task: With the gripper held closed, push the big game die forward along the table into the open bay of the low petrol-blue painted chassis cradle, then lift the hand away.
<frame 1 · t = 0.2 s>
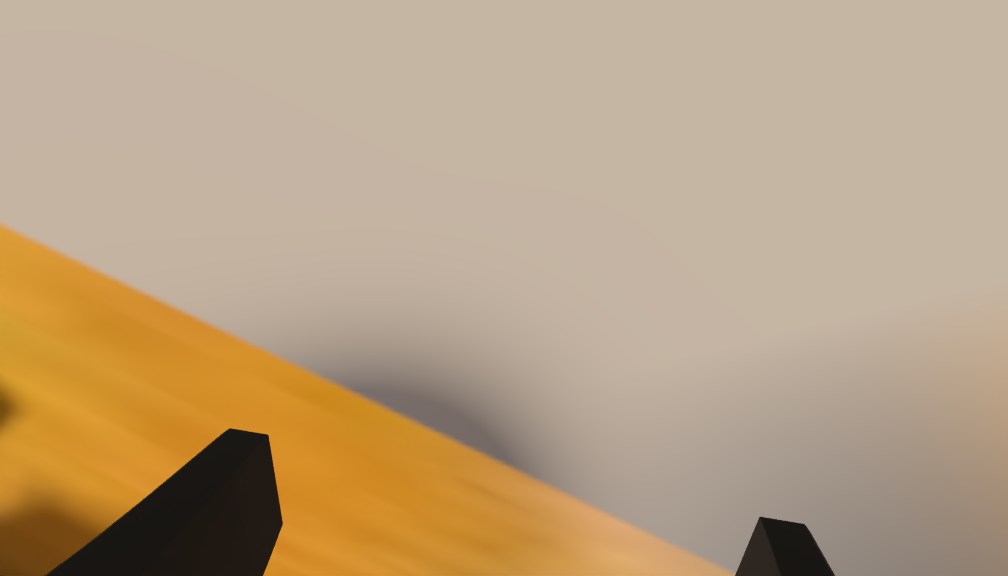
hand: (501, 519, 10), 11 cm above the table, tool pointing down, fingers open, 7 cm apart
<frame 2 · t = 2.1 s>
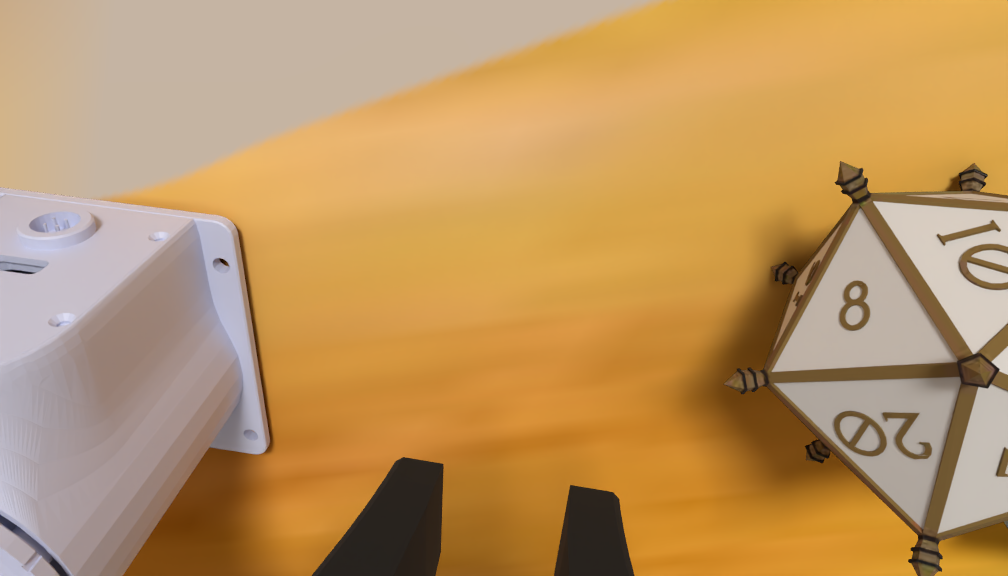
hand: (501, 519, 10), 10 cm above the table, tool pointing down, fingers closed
game die: (888, 256, 19), on the table
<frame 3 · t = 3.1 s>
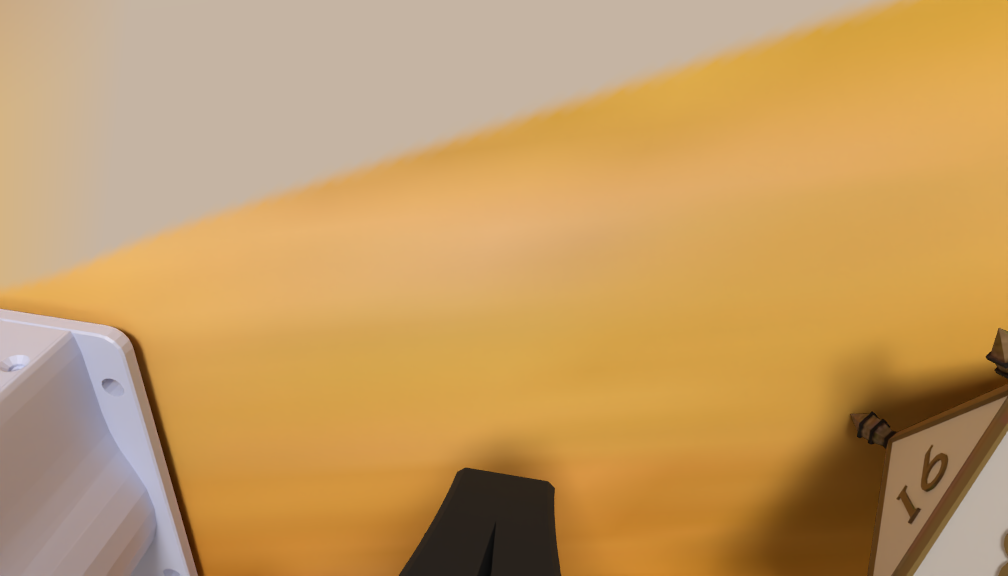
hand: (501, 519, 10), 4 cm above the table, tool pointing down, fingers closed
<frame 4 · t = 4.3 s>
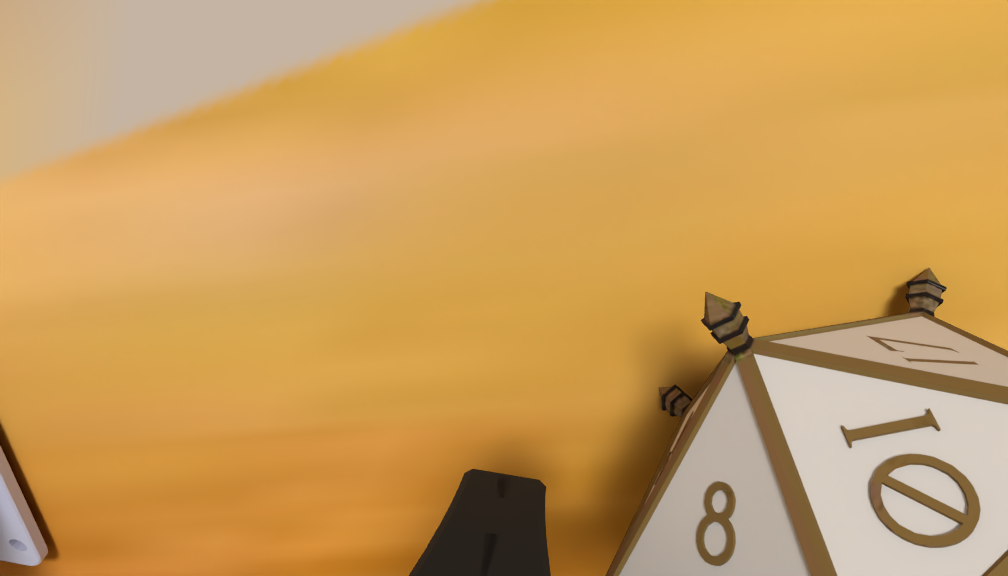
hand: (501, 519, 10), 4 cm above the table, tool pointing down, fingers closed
game die: (816, 379, 14), on the table, touching gripper
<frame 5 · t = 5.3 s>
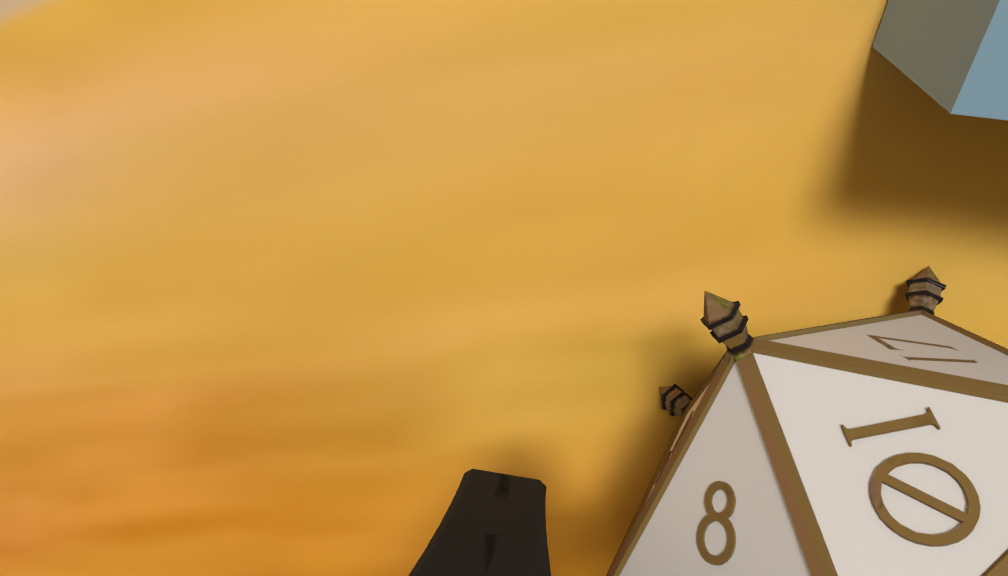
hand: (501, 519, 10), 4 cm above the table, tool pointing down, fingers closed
game die: (816, 378, 14), on the table, touching gripper
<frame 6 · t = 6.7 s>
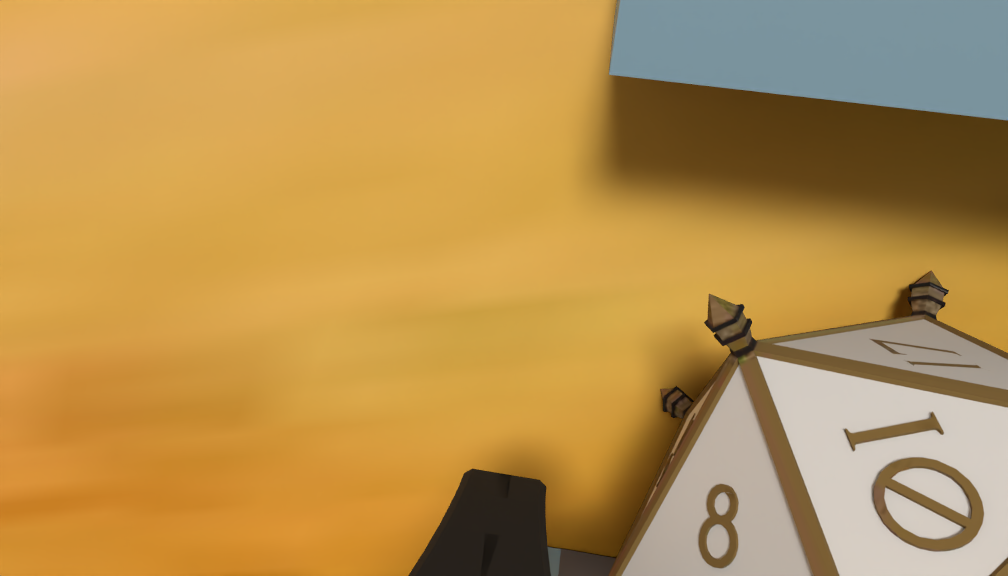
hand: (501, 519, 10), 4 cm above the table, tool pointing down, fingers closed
game die: (817, 381, 14), on the table, touching gripper
chassis: (834, 387, 13), on the table
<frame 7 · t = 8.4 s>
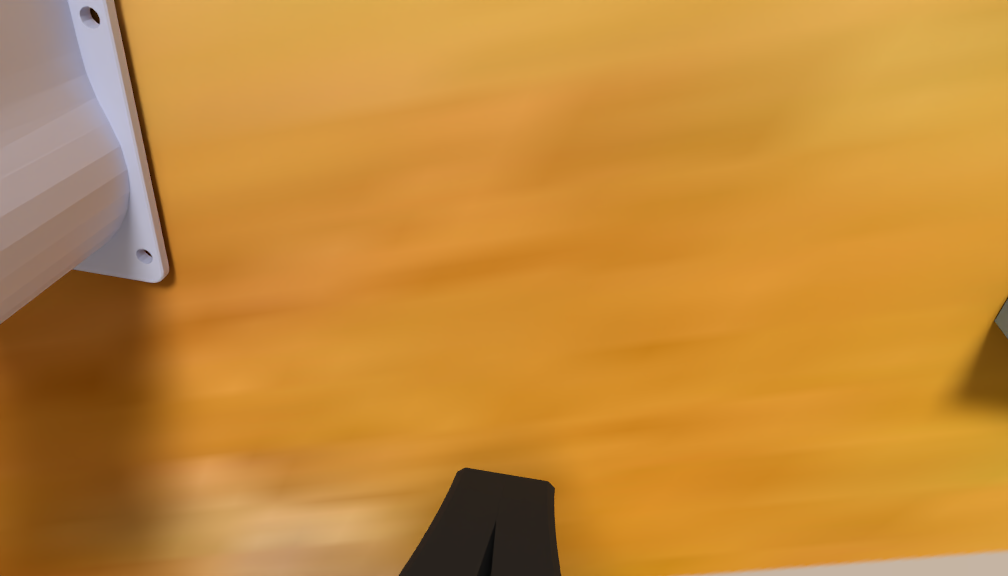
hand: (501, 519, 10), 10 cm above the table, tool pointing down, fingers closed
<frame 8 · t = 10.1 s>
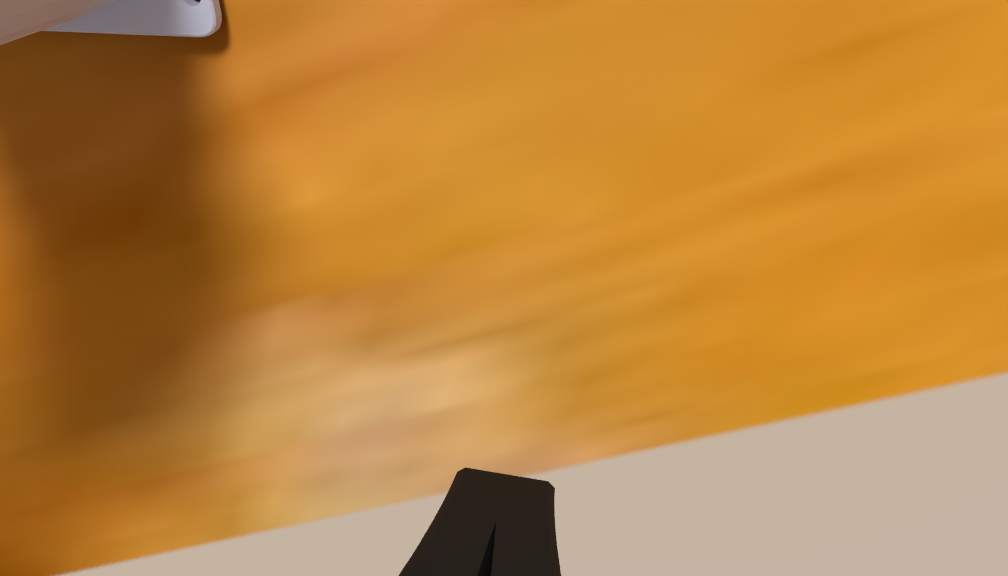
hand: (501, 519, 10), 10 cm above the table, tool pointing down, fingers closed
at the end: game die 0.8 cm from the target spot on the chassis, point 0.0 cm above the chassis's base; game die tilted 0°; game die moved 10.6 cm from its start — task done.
